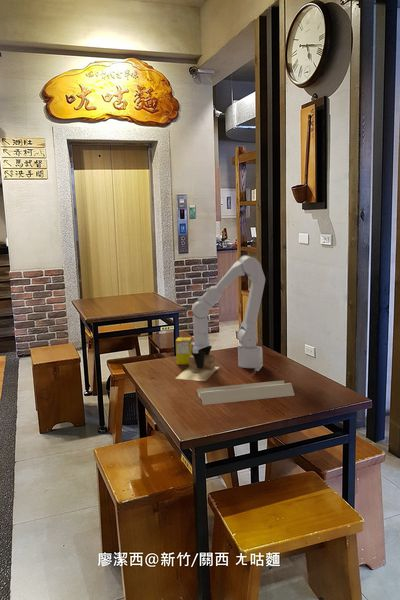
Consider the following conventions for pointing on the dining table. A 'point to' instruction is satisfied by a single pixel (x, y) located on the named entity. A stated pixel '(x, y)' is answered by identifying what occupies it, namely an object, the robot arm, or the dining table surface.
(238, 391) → the crown molding
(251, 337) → the robot arm
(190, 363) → the block
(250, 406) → the dining table surface
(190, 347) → the supplement box
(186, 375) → the birch board
